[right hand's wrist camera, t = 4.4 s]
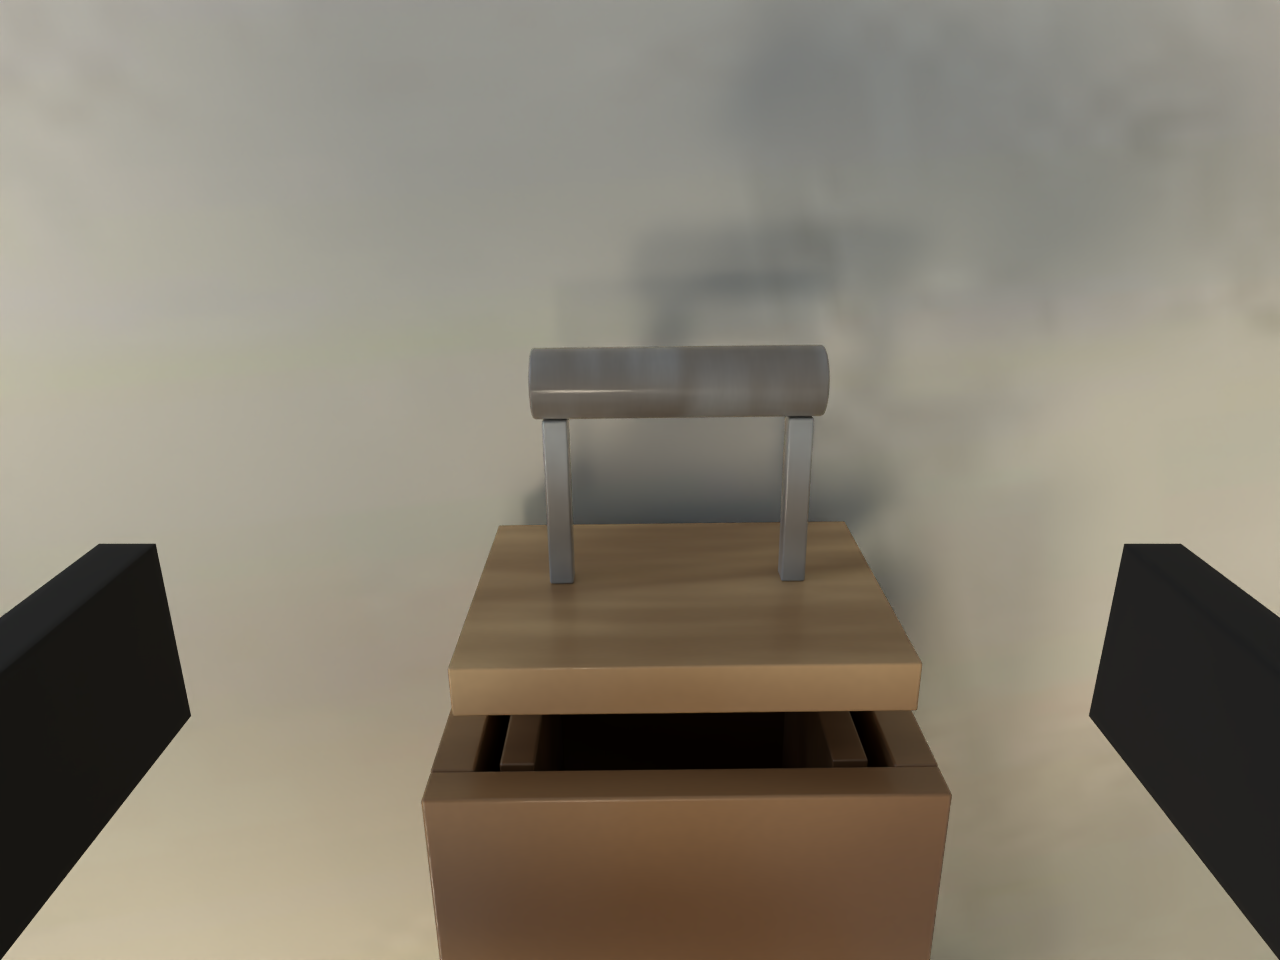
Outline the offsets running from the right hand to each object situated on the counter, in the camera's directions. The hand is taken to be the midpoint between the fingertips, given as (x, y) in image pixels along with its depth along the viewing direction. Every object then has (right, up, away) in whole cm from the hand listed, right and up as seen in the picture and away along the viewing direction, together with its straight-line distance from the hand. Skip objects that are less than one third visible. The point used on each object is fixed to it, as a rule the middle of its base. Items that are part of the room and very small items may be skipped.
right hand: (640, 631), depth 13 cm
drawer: (+1, -6, +16) cm, 17 cm away
